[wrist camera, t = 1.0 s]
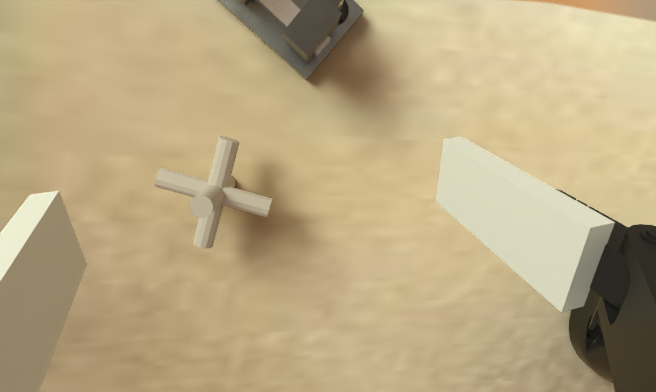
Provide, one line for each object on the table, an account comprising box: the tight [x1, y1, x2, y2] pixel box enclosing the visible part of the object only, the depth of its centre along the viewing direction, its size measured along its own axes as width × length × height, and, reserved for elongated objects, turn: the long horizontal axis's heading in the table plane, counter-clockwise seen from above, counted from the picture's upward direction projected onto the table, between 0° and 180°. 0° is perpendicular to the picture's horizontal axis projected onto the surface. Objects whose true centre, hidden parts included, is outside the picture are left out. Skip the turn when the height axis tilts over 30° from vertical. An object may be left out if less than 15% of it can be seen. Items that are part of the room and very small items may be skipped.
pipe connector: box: [155, 136, 272, 248], centre depth 36 cm, size 10×10×10 cm
